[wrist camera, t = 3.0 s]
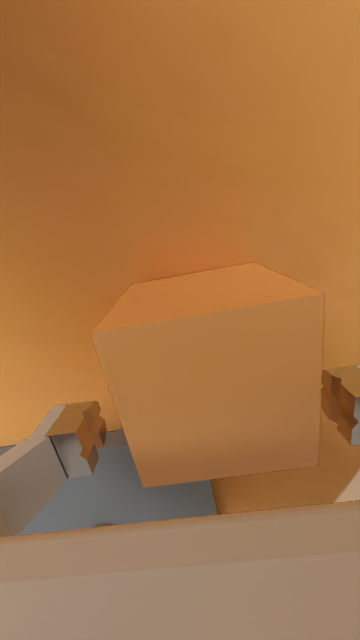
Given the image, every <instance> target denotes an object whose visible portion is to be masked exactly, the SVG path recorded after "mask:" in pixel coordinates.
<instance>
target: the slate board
mask: <svg viewBox="0 0 360 640" xmlns="http://www.w3.org/2000/svg"><path fill="white" fill-rule="evenodd" d="M14 446H16V445H14ZM14 446H7V447H0V456H1V455H2V454H4V453H5V452H7V451H8V450H10V449H11V448H13V447H14ZM98 455H99V459H98V462H97V465H96V467H95V470H94V473H93V475H90V476H83V477H76V478H69V479H68V481H67V482H66V483H65V484H64V485H63V486H62V487H61V488H60V490H59V491H58V492H57V493H56V494H55V495H54V496H53V497H52V498H51V499H50V501H49V502H48V503H47V504H46V505H45V506H44V507H43V508H42V509H41V511H40V512H39V513H38V514H37V515H36V516H35V517H34V518H33V519H32V521H31V522H30V523H29V524H28V525H27V526H26V527H25V528H24V529H23V531H22V532H21V533H20V534H19V535H21V534H31V533H41V532H51V531H61V530H71V529H81V528H91V527H100V526H110V525H120V524H130V523H140V522H150V521H160V520H170V519H180V518H190V517H200V516H210V515H218V513H217V508H216V503H215V498H214V492H213V487H212V482H211V480H203V481H195V482H187V483H179V484H172V485H164V486H156V487H148V488H143V486H142V483H141V480H140V477H139V474H138V471H137V468H136V465H135V462H134V460H133V457H132V454H131V451H130V448H129V445H128V442H127V439H126V436H125V433H124V431H123V430H118V431H111V432H106V440H105V443H104V446H103V447H102V448H101V449H100V450H99V451H98Z"/></svg>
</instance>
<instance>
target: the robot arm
mask: <svg viewBox="0 0 360 640" xmlns="http://www.w3.org/2000/svg"><path fill="white" fill-rule="evenodd" d="M321 383H322V384H323V385H324V386H323V388H322V389H321V407H322V409H323V411H324V413H325V414H326V416H327V417H328V418H329V419H330V420H332V421H334V422H336V423H338V427H337V429H338V431H339V432H340V433H341V434H342V435H343V437H344V438H345V439H346V440H347V442H348V443H349V444H350V445H351V446H353V445H360V365H354V366H350V367H344V368H337V369H330V370H323V371H322V382H321ZM100 410H101V408H100V406H99V403H98V402H97V401H86V402H77V403H70V404H60V405H56V406H54V407H53V408H52V409H51V411H50V412H49V413H48V415H47V416H46V417H45V419H44V420H43V421H42V422H41V424H40V425H39V426H38V428H37V429H36V430H35V432H34V433H33V434H32V436H31V437H30V438H29V439H25V440H23V441H22V442H20V443H19V444H17V445H16V446H14V447H13V448H11V449H10V450H8V451H7V452H5V453H4V454H2V455H1V456H0V640H360V500H359V501H349V502H339V503H329V504H319V505H309V506H299V507H289V508H279V509H269V510H260V511H250V512H240V513H230V514H220V515H210V516H200V517H190V518H180V519H170V520H160V521H150V522H140V523H130V524H120V525H110V526H100V527H91V528H81V529H71V530H61V531H51V532H41V533H31V534H21V535H19V534H20V533H21V532H22V531H23V529H24V528H25V527H26V526H27V525H28V524H29V523H30V522H31V521H32V519H33V518H34V517H35V516H36V515H37V514H38V513H39V512H40V511H41V509H42V508H43V507H44V506H45V505H46V504H47V503H48V502H49V501H50V499H51V498H52V497H53V496H54V495H55V494H56V493H57V492H58V491H59V490H60V488H61V487H62V486H63V485H64V484H65V483H66V482H67V481H68V479H69V478H76V477H83V476H90V475H93V473H94V470H95V467H96V465H97V462H98V459H99V455H98V451H99V450H100V449H101V448H102V447H103V446H104V443H105V440H106V432H107V430H106V423H105V420H104V419H103V418H102V417H101V416H99V413H100Z"/></svg>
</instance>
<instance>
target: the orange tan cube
mask: <svg viewBox="0 0 360 640" xmlns="http://www.w3.org/2000/svg"><path fill="white" fill-rule="evenodd" d="M324 300H325V293H322V292H320V291H318V290H315V289H313V288H311V287H309V286H306V285H304V284H302V283H300V282H297V281H295V280H293V279H290V278H288V277H286V276H284V275H281V274H279V273H277V272H275V271H272V270H270V269H268V268H266V267H263V266H261V265H259V264H256V263H254V262H252V263H247V264H241V265H235V266H230V267H224V268H219V269H213V270H208V271H202V272H197V273H191V274H186V275H180V276H175V277H169V278H164V279H158V280H153V281H147V282H142V283H136V284H132V285H131V286H130V288H129V289H128V290H127V291H126V292H125V293H124V295H123V296H122V297H121V298H120V299H119V300H118V302H117V303H116V304H115V305H114V306H113V307H112V309H111V310H110V311H109V312H108V313H107V314H106V316H105V317H104V318H103V319H102V320H101V321H100V323H99V324H98V325H97V326H96V327H95V328H94V330H93V331H92V332H91V333H90V335H91V338H92V341H93V344H94V346H95V349H96V352H97V355H98V358H99V361H100V364H101V367H102V370H103V373H104V375H105V378H106V381H107V384H108V387H109V390H110V393H111V396H112V399H113V402H114V404H115V407H116V410H117V413H118V416H119V419H120V422H121V425H122V428H123V431H124V433H125V436H126V439H127V442H128V445H129V448H130V451H131V454H132V457H133V460H134V462H135V465H136V468H137V471H138V474H139V477H140V480H141V483H142V486H143V488H148V487H156V486H164V485H172V484H179V483H187V482H195V481H203V480H211V479H219V478H226V477H234V476H242V475H250V474H258V473H266V472H274V471H281V470H289V469H297V468H305V467H313V466H318V464H319V436H320V409H321V382H322V355H323V327H324Z"/></svg>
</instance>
